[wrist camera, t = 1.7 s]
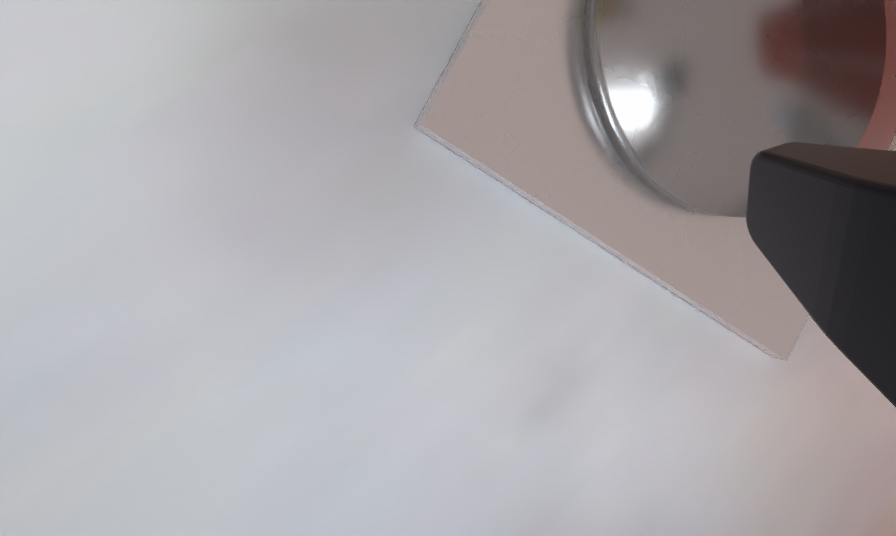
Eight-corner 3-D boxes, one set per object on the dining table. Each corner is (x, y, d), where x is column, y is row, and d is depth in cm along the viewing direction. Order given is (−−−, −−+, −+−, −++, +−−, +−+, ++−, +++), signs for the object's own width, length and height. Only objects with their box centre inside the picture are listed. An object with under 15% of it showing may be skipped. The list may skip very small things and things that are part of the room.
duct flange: (772, 356, 26) (809, 366, 25) (413, 126, 21) (434, 122, 19) (950, -15, 27) (995, -26, 26) (655, -320, 22) (690, -354, 21)
